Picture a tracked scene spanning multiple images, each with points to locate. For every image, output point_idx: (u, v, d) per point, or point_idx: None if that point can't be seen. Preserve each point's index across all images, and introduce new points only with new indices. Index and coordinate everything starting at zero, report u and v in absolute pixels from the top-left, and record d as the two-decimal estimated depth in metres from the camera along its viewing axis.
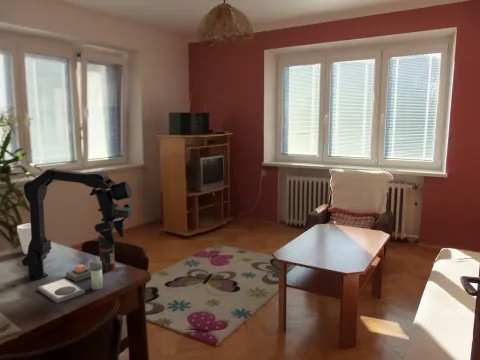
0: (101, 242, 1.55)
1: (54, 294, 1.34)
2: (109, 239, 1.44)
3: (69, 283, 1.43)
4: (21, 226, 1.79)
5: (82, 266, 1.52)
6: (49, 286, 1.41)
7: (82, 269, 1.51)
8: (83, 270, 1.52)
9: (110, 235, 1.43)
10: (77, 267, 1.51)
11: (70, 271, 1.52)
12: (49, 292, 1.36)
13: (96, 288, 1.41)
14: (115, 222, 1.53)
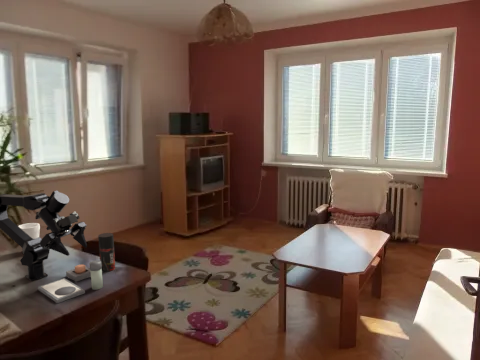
0: (101, 242, 1.55)
1: (54, 294, 1.34)
2: (61, 251, 1.39)
3: (69, 283, 1.43)
4: (21, 226, 1.79)
5: (82, 266, 1.52)
6: (49, 286, 1.41)
7: (82, 269, 1.51)
8: (83, 270, 1.52)
9: (60, 246, 1.38)
10: (77, 267, 1.51)
11: (70, 271, 1.52)
12: (49, 292, 1.36)
13: (96, 288, 1.41)
14: (75, 236, 1.49)
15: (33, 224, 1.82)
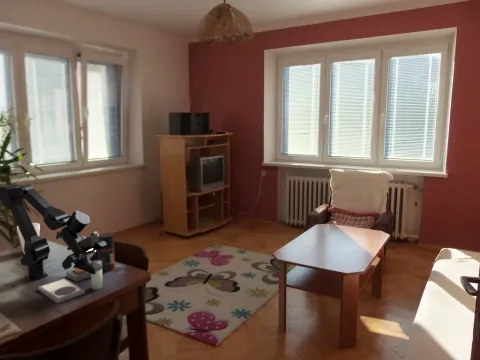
0: None
1: (54, 294, 1.34)
2: (88, 270, 1.39)
3: (69, 283, 1.43)
4: None
5: None
6: (49, 286, 1.41)
7: None
8: (83, 270, 1.52)
9: (86, 265, 1.38)
10: None
11: (70, 271, 1.52)
12: (49, 292, 1.36)
13: (96, 288, 1.41)
14: (92, 257, 1.45)
15: (33, 224, 1.82)
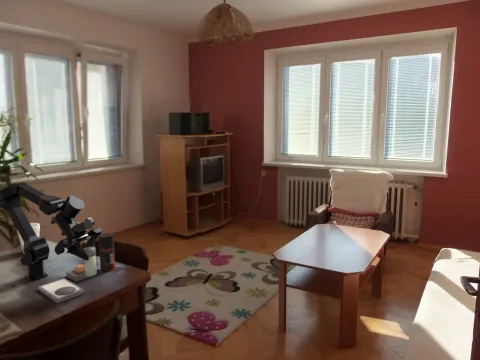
0: (101, 242, 1.55)
1: (54, 294, 1.34)
2: (81, 256, 1.37)
3: (69, 283, 1.43)
4: None
5: (82, 266, 1.52)
6: (49, 286, 1.41)
7: (82, 269, 1.51)
8: (83, 270, 1.52)
9: (79, 251, 1.36)
10: (77, 267, 1.51)
11: (70, 271, 1.52)
12: (49, 292, 1.36)
13: (89, 275, 1.39)
14: (86, 244, 1.43)
15: (33, 224, 1.82)
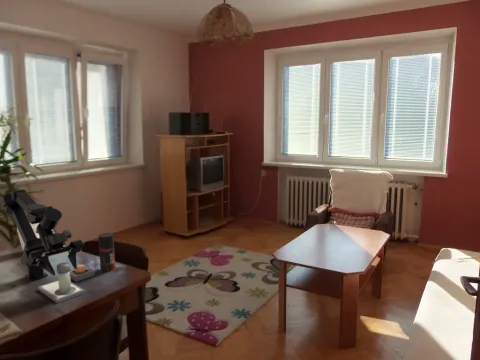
0: (101, 242, 1.55)
1: (54, 294, 1.34)
2: (48, 271, 1.32)
3: None
4: None
5: (82, 266, 1.52)
6: (49, 286, 1.41)
7: (82, 269, 1.51)
8: (83, 270, 1.52)
9: (46, 265, 1.32)
10: (77, 267, 1.51)
11: (70, 271, 1.52)
12: (49, 292, 1.36)
13: (62, 292, 1.35)
14: (69, 255, 1.41)
15: (33, 224, 1.82)
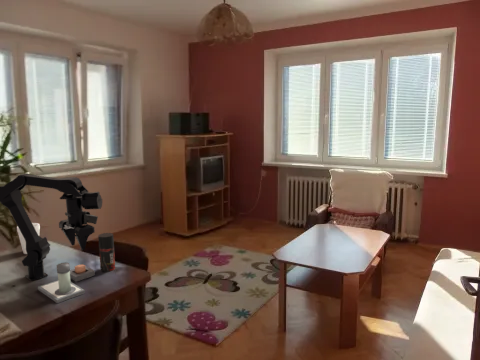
0: (101, 242, 1.55)
1: (54, 294, 1.34)
2: (82, 244, 1.46)
3: None
4: None
5: (82, 266, 1.52)
6: (49, 286, 1.41)
7: (82, 269, 1.51)
8: (83, 270, 1.52)
9: (85, 240, 1.47)
10: (77, 267, 1.51)
11: (70, 271, 1.52)
12: (49, 292, 1.36)
13: (62, 292, 1.35)
14: (68, 230, 1.52)
15: (33, 224, 1.82)
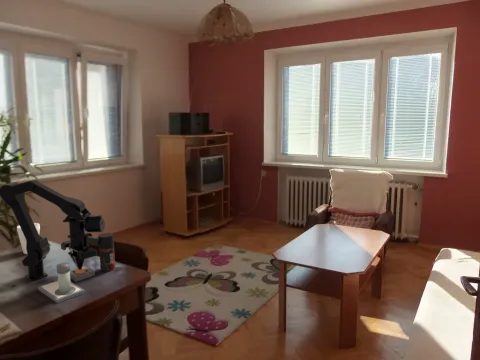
0: (101, 242, 1.55)
1: (54, 294, 1.34)
2: (79, 264, 1.51)
3: None
4: None
5: (82, 269, 1.53)
6: (49, 286, 1.41)
7: (82, 272, 1.51)
8: None
9: (82, 260, 1.51)
10: (77, 270, 1.52)
11: (70, 271, 1.52)
12: (49, 292, 1.36)
13: (62, 292, 1.35)
14: (75, 254, 1.51)
15: None
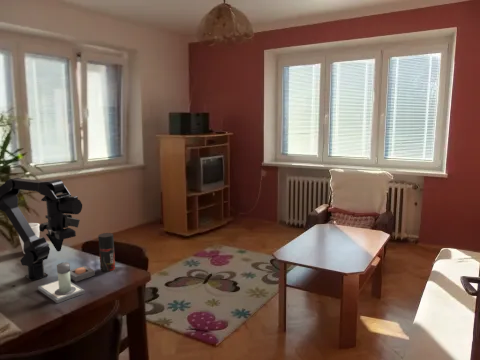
0: (101, 242, 1.55)
1: (54, 294, 1.34)
2: (57, 246, 1.45)
3: None
4: None
5: (82, 269, 1.53)
6: (49, 286, 1.41)
7: (82, 272, 1.51)
8: None
9: (61, 241, 1.46)
10: (77, 270, 1.52)
11: (70, 271, 1.52)
12: (49, 292, 1.36)
13: (62, 292, 1.35)
14: (53, 235, 1.46)
15: (33, 224, 1.82)
